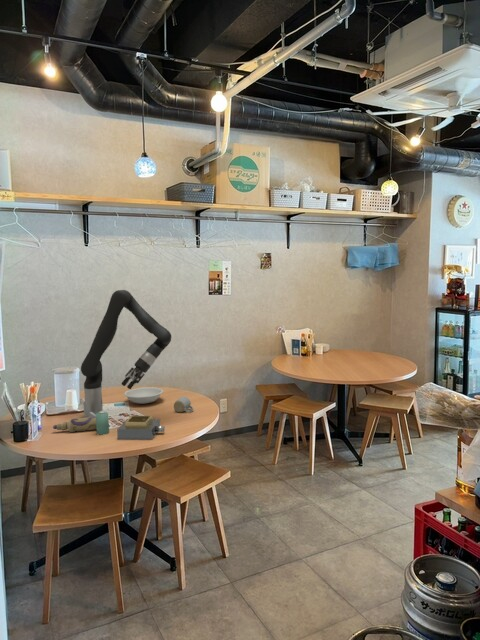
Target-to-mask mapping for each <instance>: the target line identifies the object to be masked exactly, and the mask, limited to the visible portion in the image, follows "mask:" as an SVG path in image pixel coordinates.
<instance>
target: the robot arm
mask: <svg viewBox="0 0 480 640" xmlns="http://www.w3.org/2000/svg"><path fill="white" fill-rule="evenodd" d="M124 308H125V309H126V310H128V311H129V312H130V313H131V314H132V315H133V316H134V317H135V319H136V320H137V321H138V323H139V324H140V325H141V326H142V327H143V328H144V329H145V330H146V331H147V332H148V333H149V334H152V335H153V336H154V337H156V339H155V340H154V342H153V343H151V344H149V346H148V347H147V348H146V349H145V351H144V352H143V353H142V354H141V355H140V357H139V358H138V359H137V360H136V361H135V363H134V366H135V367H131V368H130V369H129V370H128V372H126V374H125V375H124V377H125V378H124V380H122V382H121V385H122V386H123V387H125V386H126V388H127V389H128V390H131V389H133V387H134V386H135V385H136V384H139V383H140V382H141V380H142V378H143V377H145V374H146V373H147V372H148V371H149V369H151V367H152V366H153V365H154V363H155V362H156V360H157V359H158V357H159V356H160V355H161V353H162V352H163V351H165V349H166V348H167V347H168V346H169V344H170V343H171V341H172V334H171V332H170V331H169V330H168V329H167V328H166V327H165V326H162V325H161V324H160V323H159V322H158V321H157V320H156V319H155V318H154V317H152V316H151V314H149V313H148V312H147V311H146V310H145V309H144V308H143V307H142V306H141V305H140V303H138V301H137V300H136V298H135V297H134V296H133V295H132V294H131V292H129V290H125V289H118V290H115V291H113V293H112V294H111V296H110V299H109V304H108V305H107V309H106V312H105V314H104V316H103V318H102V320H101V322H100V324H99V326H98V328H97V331H96V333H95V335H94V339H93V340H92V343H91V345H90V348H89V350H88V353H86V356H85V358H84V359H83V360H82V362H81V365H80V372H81V374H82V376H84V377H85V381H84V383H83V390H84V394H83V395H84V401H83V416H84V417H83V418H86V417H94V416H93V415H91V414H90V412H92V413H94V414H95V415H96V413H99V412H100V411H104V410H103V409H104V408H103V406H104V405H103V392H102V391H103V390H102V383H103V365H102V362H101V359H102V357H103V355H104V353H105V352H106V350H107V349H108V348H109V347H110V345H111V343H112V341H113V339H114V338H115V336H116V333H117V330H118V322H119V317H120V315H121V313H122V311H123V309H124ZM129 381H130V382H129Z"/></svg>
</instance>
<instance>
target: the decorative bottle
mask: <svg viewBox="0 0 480 640" xmlns="http://www.w3.org/2000/svg"><path fill="white" fill-rule="evenodd" d="M52 429H54V430H58V431H59V430H60V431H61V430H62V431H69V432H70V433H76V432H75V431H77V432H84V431H86V430H87V431H95V430H96V431H97V428H96V418H95V417H86V418H84V417H79V418H70V419H69V421H68V422H62V423H57V424H55V425H53V426H52Z"/></svg>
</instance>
